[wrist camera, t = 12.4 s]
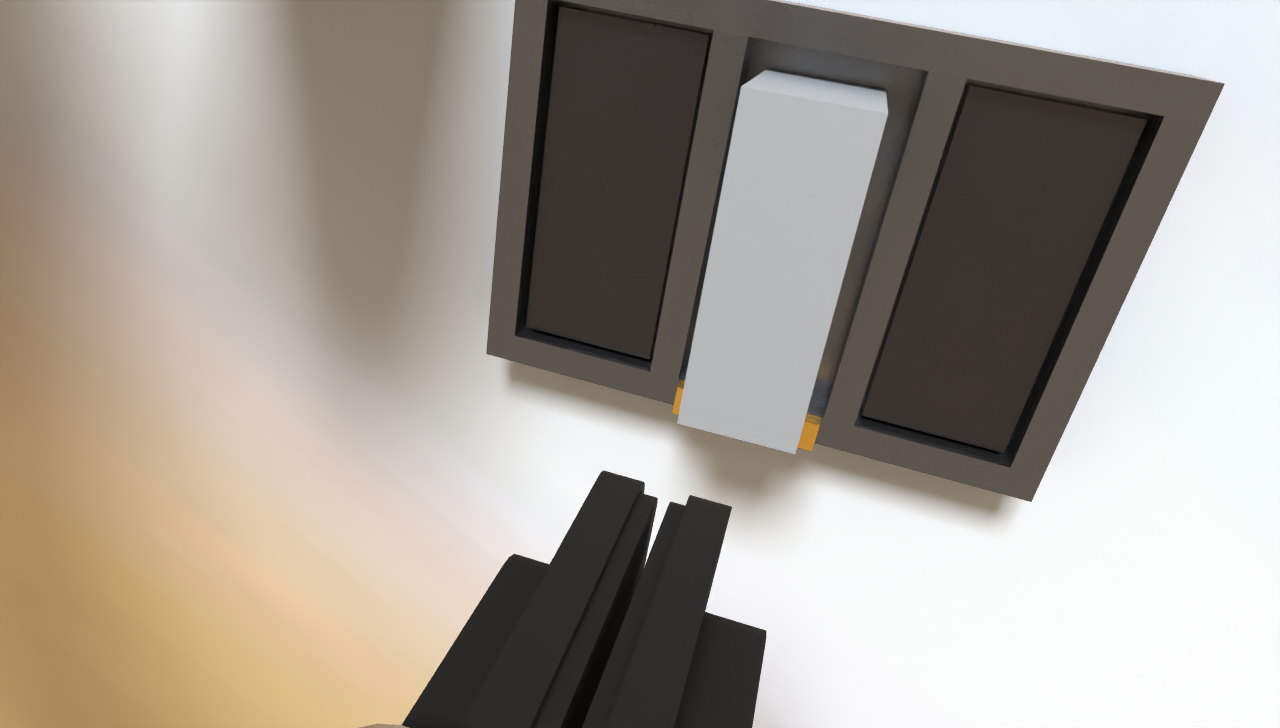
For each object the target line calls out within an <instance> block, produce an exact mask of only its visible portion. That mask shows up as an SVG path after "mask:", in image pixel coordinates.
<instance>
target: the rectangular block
mask: <svg viewBox="0 0 1280 728" xmlns="http://www.w3.org/2000/svg"><path fill="white" fill-rule="evenodd" d="M887 116H888V106H887V96H886V89H881V88H875V87H870V86H864V85H859V84H853V83H848V82H842V81H837V80H831V79H826V78H820V77H814V76H809V75H803V74H798V73H792V72H787V71H781V70H776V69H770V68H768V69H766V70H765V71H763V72H762V73H760V74H759V75H757V76H756V77H754V78H753V79H752V80H750V81H749V82H747V83H746V84H744V85H743V86H741V90H740V96H739V101H738V106H737V111H736V117H735V122H734V127H733V132H732V138H731V143H730V148H729V153H728V159H727V164H726V169H725V174H724V180H723V185H722V190H721V195H720V201H719V206H718V211H717V216H716V222H715V227H714V232H713V237H712V243H711V248H710V253H709V258H708V263H707V269H706V274H705V279H704V284H703V290H702V295H701V300H700V305H699V311H698V316H697V321H696V326H695V332H694V337H693V342H692V347H691V353H690V358H689V363H688V368H687V374H686V379H685V384H684V389H683V395H682V400H681V405H680V410H679V416H678V421H677V424H681V425H684V426H688V427H692V428H696V429H700V430H704V431H707V432H711V433H715V434H719V435H723V436H727V437H730V438H734V439H738V440H742V441H746V442H750V443H753V444H757V445H761V446H765V447H769V448H773V449H776V450H780V451H784V452H788V453H792V454H796V451H797V447H798V443H799V440H800V436H801V432H802V429H803V425H804V421H805V418H806V414H807V410H808V406H809V403H810V399H811V395H812V392H813V388H814V384H815V381H816V377H817V373H818V370H819V366H820V362H821V359H822V355H823V351H824V348H825V344H826V340H827V337H828V333H829V329H830V326H831V322H832V318H833V315H834V311H835V307H836V304H837V300H838V296H839V293H840V289H841V285H842V282H843V278H844V274H845V271H846V267H847V263H848V259H849V256H850V252H851V248H852V245H853V241H854V237H855V234H856V230H857V226H858V223H859V219H860V215H861V212H862V208H863V204H864V201H865V197H866V193H867V190H868V186H869V182H870V179H871V175H872V171H873V168H874V164H875V160H876V157H877V153H878V149H879V146H880V142H881V138H882V135H883V131H884V127H885V123H886V120H887Z"/></svg>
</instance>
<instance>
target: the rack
mask: <svg viewBox="0 0 1280 728" xmlns="http://www.w3.org/2000/svg"><path fill="white" fill-rule="evenodd" d="M768 68H770V69H776V70H781V71H787V72H792V73H798V74H803V75H809V76H814V77H820V78H826V79H831V80H837V81H842V82H848V83H853V84H859V85H864V86H870V87H875V88H881V89H886V96H887V106H888V116H887V120H886V123H885V127H884V131H883V135H882V138H881V142H880V146H879V149H878V153H877V157H876V160H875V164H874V168H873V171H872V175H871V179H870V182H869V186H868V190H867V193H866V197H865V201H864V204H863V208H862V212H861V215H860V219H859V223H858V226H857V230H856V234H855V237H854V241H853V245H852V248H851V252H850V256H849V259H848V263H847V267H846V271H845V274H844V278H843V282H842V285H841V289H840V293H839V296H838V300H837V304H836V307H835V311H834V315H833V318H832V322H831V326H830V329H829V333H828V337H827V340H826V344H825V348H824V351H823V355H822V359H821V362H820V366H819V370H818V373H817V377H816V381H815V384H814V388H813V392H812V395H811V399H810V403H809V406H808V410H807V414H806V418H805V421H804V425H803V429H802V432H801V436H800V440H799V443H798V448H801V449H805V450H809V451H812V450H813V446H814V443H817V444H820V445H824V446H828V447H831V448H835V449H839V450H842V451H846V452H850V453H853V454H857V455H861V456H864V457H868V458H872V459H875V460H879V461H883V462H887V463H890V464H894V465H898V466H901V467H905V468H909V469H912V470H916V471H920V472H923V473H927V474H931V475H934V476H938V477H942V478H945V479H949V480H953V481H956V482H960V483H964V484H967V485H971V486H975V487H978V488H982V489H986V490H990V491H993V492H997V493H1001V494H1004V495H1008V496H1012V497H1015V498H1019V499H1023V500H1026V501H1030V502H1031V501H1032V499H1033V497H1034V495H1035V493H1036V491H1037V488H1038V486H1039V484H1040V482H1041V480H1042V478H1043V475H1044V473H1045V471H1046V469H1047V467H1048V465H1049V462H1050V460H1051V458H1052V456H1053V454H1054V452H1055V449H1056V447H1057V445H1058V443H1059V441H1060V439H1061V437H1062V434H1063V432H1064V430H1065V428H1066V426H1067V424H1068V421H1069V419H1070V417H1071V415H1072V413H1073V411H1074V408H1075V406H1076V404H1077V402H1078V400H1079V398H1080V395H1081V393H1082V391H1083V389H1084V387H1085V385H1086V382H1087V380H1088V378H1089V376H1090V374H1091V372H1092V369H1093V367H1094V365H1095V363H1096V361H1097V359H1098V357H1099V354H1100V352H1101V350H1102V348H1103V346H1104V344H1105V341H1106V339H1107V337H1108V335H1109V333H1110V331H1111V328H1112V326H1113V324H1114V322H1115V320H1116V318H1117V315H1118V313H1119V311H1120V309H1121V307H1122V305H1123V302H1124V300H1125V298H1126V296H1127V294H1128V292H1129V290H1130V287H1131V285H1132V283H1133V281H1134V279H1135V277H1136V274H1137V272H1138V270H1139V268H1140V266H1141V264H1142V261H1143V259H1144V257H1145V255H1146V253H1147V251H1148V248H1149V246H1150V244H1151V242H1152V240H1153V238H1154V235H1155V233H1156V231H1157V229H1158V227H1159V225H1160V222H1161V220H1162V218H1163V216H1164V214H1165V212H1166V210H1167V207H1168V205H1169V203H1170V201H1171V199H1172V197H1173V194H1174V192H1175V190H1176V188H1177V186H1178V184H1179V181H1180V179H1181V177H1182V175H1183V173H1184V171H1185V168H1186V166H1187V164H1188V162H1189V160H1190V158H1191V155H1192V153H1193V151H1194V149H1195V147H1196V145H1197V143H1198V140H1199V138H1200V136H1201V134H1202V132H1203V130H1204V127H1205V125H1206V123H1207V121H1208V119H1209V117H1210V114H1211V112H1212V110H1213V108H1214V106H1215V104H1216V101H1217V99H1218V97H1219V95H1220V93H1221V91H1222V88H1223V86H1224V83H1220V82H1216V81H1212V80H1208V79H1204V78H1200V77H1196V76H1192V75H1187V74H1181V73H1176V72H1170V71H1165V70H1159V69H1154V68H1148V67H1143V66H1138V65H1132V64H1127V63H1121V62H1116V61H1110V60H1105V59H1099V58H1094V57H1088V56H1083V55H1077V54H1072V53H1067V52H1061V51H1056V50H1050V49H1045V48H1039V47H1034V46H1028V45H1023V44H1017V43H1012V42H1006V41H1001V40H996V39H990V38H985V37H979V36H974V35H968V34H963V33H957V32H952V31H946V30H941V29H935V28H930V27H925V26H919V25H914V24H908V23H903V22H897V21H892V20H886V19H881V18H875V17H870V16H864V15H859V14H854V13H848V12H843V11H837V10H832V9H826V8H821V7H815V6H810V5H804V4H799V3H793V2H788V1H783V0H515V12H514V24H513V36H512V48H511V61H510V73H509V85H508V97H507V109H506V122H505V134H504V146H503V158H502V170H501V183H500V195H499V207H498V219H497V231H496V244H495V256H494V268H493V280H492V292H491V305H490V317H489V329H488V341H487V353H486V354H489V355H493V356H497V357H500V358H504V359H508V360H511V361H515V362H519V363H522V364H526V365H530V366H533V367H537V368H541V369H544V370H548V371H552V372H555V373H559V374H563V375H566V376H570V377H574V378H578V379H581V380H585V381H589V382H592V383H596V384H600V385H603V386H607V387H611V388H614V389H618V390H622V391H625V392H629V393H633V394H636V395H640V396H644V397H647V398H651V399H655V400H658V401H662V402H666V403H669V404H673V405H674V406H673V411H672V413H673V414H677V415H679V410H680V405H681V400H682V395H683V389H684V384H685V379H686V374H687V368H688V363H689V358H690V353H691V347H692V342H693V337H694V332H695V326H696V321H697V316H698V311H699V305H700V300H701V295H702V290H703V284H704V279H705V274H706V269H707V263H708V258H709V253H710V248H711V243H712V237H713V232H714V227H715V222H716V216H717V211H718V206H719V201H720V195H721V190H722V185H723V180H724V174H725V169H726V164H727V159H728V153H729V148H730V143H731V138H732V132H733V127H734V122H735V117H736V111H737V106H738V101H739V96H740V90H741V86H743V85H744V84H746V83H747V82H749V81H750V80H752V79H753V78H754V77H756V76H757V75H759V74H760V73H762V72H763V71H765V70H766V69H768Z"/></svg>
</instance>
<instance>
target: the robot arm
mask: <svg viewBox="0 0 1280 728" xmlns="http://www.w3.org/2000/svg"><path fill="white" fill-rule="evenodd" d="M644 487H645V483H644V482H642V481H639V480H635V479H632V478H628V477H625V476H621V475H617V474H614V473H610V472H607V471H602V472H601V473H600V475H599V476H598V478H597V480H596V482H595V484H594V485H593V487H592V489H591V491H590V493H589V494H588V496H587V498H586V500H585V502H584V503H583V505H582V507H581V509H580V511H579V512H578V514H577V516H576V518H575V520H574V521H573V523H572V525H571V527H570V529H569V530H568V532H567V534H566V536H565V538H564V539H563V541H562V543H561V545H560V547H559V548H558V550H557V552H556V554H555V556H554V557H553V559H552V561H551V563H550V565H549V564H546V563H543V562H539V561H536V560H533V559H530V558H526V557H523V556H520V555H516V554H513V555H512V556H510V557H509V558H508V560H507V561H506V562H505V563H504V565H503V566H502V568H501V569H500V571H499V573H498V574H497V576H496V577H495V579H494V580H493V582H492V584H491V585H490V587H489V588H488V590H487V591H486V593H485V595H484V596H483V598H482V599H481V601H480V602H479V604H478V606H477V607H476V609H475V610H474V612H473V613H472V615H471V617H470V618H469V620H468V621H467V623H466V625H465V626H464V628H463V629H462V631H461V632H460V634H459V636H458V637H457V639H456V640H455V642H454V643H453V645H452V647H451V648H450V650H449V651H448V653H447V654H446V656H445V658H444V659H443V661H442V662H441V664H440V665H439V667H438V669H437V670H436V672H435V673H434V675H433V676H432V678H431V680H430V681H429V683H428V684H427V686H426V687H425V689H424V691H423V692H422V694H421V695H420V697H419V699H418V700H417V702H416V703H415V705H414V706H413V708H412V710H411V711H410V713H409V714H408V716H407V717H406V719H405V721H404V722H403V724H402V725H389V724H374V725H370V726H365V727H360V728H752V724H753V718H754V712H755V705H756V699H757V693H758V687H759V680H760V674H761V668H762V662H763V655H764V649H765V642H766V630H762V629H759V628H756V627H752V626H749V625H746V624H743V623H739V622H736V621H733V620H729V619H726V618H723V617H720V616H716V615H713V614H710V613H707V612H705V610H706V606H707V602H708V598H709V594H710V590H711V586H712V582H713V579H714V575H715V571H716V567H717V563H718V559H719V555H720V551H721V547H722V544H723V540H724V536H725V532H726V528H727V524H728V520H729V516H730V512H731V508H732V507H731V506H727V505H723V504H720V503H716V502H713V501H709V500H706V499H702V498H699V497H695V496H692V495H690V496H689V498H688V501H687V504H686V506H684V505H681V504H677V503H674V502H670V503H669V505H668V508H667V511H666V513H665V516H664V518H663V521H662V523H661V526H660V529H659V531H658V534H657V536H656V539H655V541H654V544H653V547H652V549H651V552H650V554H649V557H648V559H647V562H646V564H645V561H646V556H647V551H648V546H649V541H650V536H651V532H652V527H653V522H654V517H655V512H656V507H657V500H658V499H657V498H656V497H653V496H649V495H646V494H644ZM644 566H645V567H644Z"/></svg>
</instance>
